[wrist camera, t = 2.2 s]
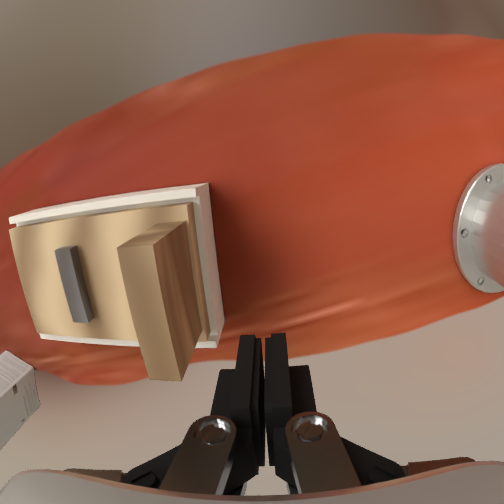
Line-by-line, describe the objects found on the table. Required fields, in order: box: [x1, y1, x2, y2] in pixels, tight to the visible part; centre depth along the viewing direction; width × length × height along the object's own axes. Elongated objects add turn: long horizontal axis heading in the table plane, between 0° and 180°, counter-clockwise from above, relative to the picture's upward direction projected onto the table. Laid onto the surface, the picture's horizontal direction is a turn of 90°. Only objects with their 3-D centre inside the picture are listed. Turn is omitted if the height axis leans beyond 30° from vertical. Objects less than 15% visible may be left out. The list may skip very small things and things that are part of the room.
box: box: [9, 183, 225, 348], centre depth 25 cm, size 18×12×4 cm, turn 95°
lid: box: [9, 202, 211, 381], centre depth 20 cm, size 17×10×8 cm, turn 95°
